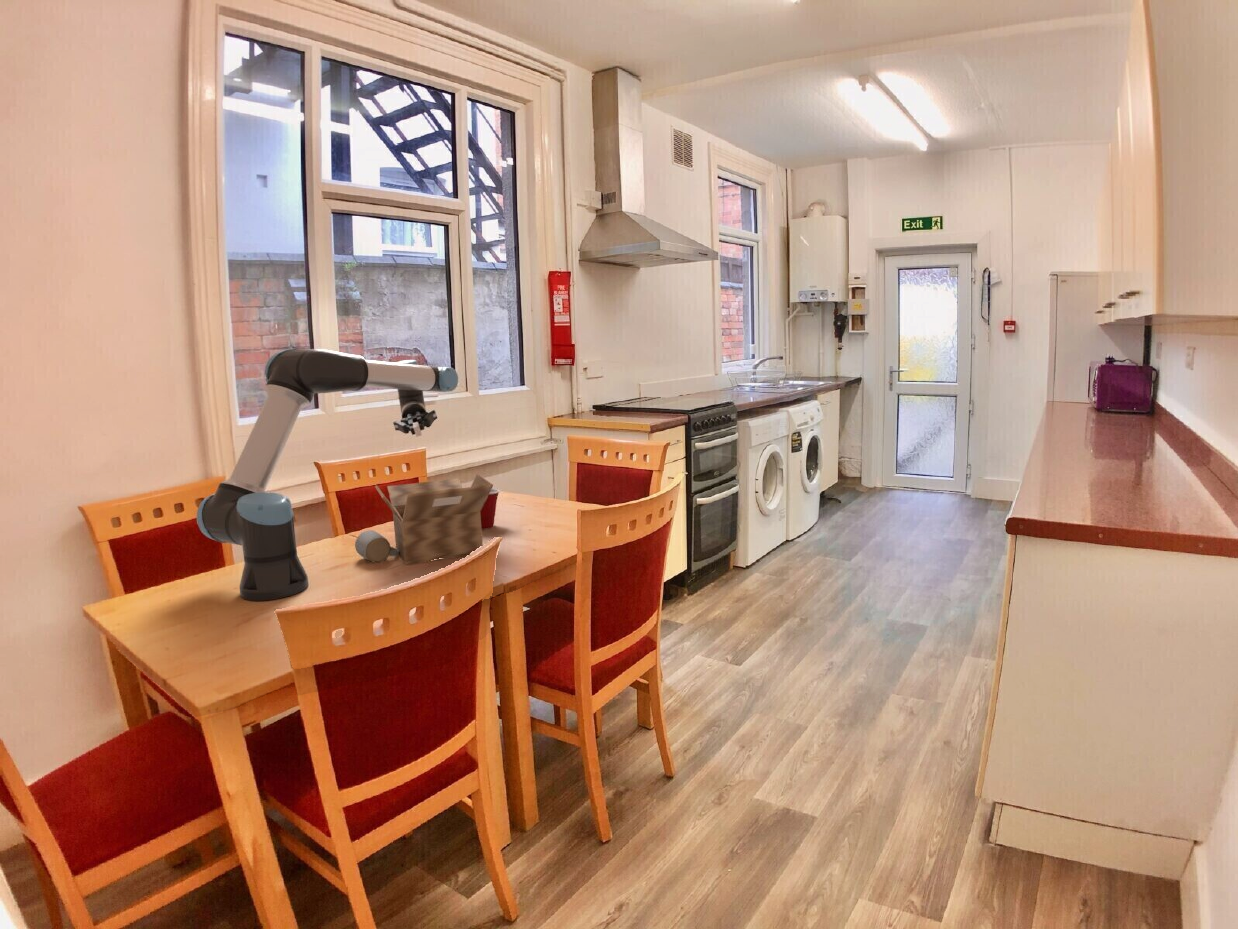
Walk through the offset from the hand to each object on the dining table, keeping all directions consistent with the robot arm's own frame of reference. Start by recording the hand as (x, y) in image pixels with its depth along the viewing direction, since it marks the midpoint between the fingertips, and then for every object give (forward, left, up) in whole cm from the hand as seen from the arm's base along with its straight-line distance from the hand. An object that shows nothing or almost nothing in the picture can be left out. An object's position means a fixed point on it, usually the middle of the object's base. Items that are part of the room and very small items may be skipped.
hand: (417, 431), depth 203 cm
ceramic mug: (-13, -2, -34) cm, 37 cm away
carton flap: (+3, -19, -17) cm, 26 cm away
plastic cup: (+21, +16, -34) cm, 43 cm away
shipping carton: (+3, +1, -34) cm, 34 cm away
